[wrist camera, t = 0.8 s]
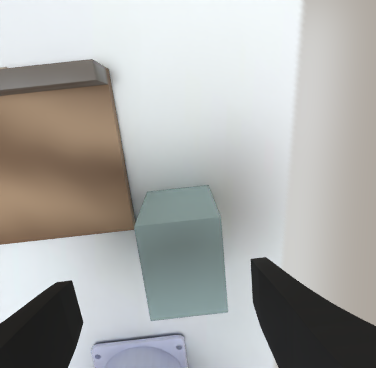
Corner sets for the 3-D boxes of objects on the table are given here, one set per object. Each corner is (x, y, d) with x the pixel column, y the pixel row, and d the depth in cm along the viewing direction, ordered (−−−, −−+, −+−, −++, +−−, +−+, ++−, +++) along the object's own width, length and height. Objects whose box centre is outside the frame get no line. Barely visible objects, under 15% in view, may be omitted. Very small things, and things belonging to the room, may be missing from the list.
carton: (158, 262, 21) (150, 321, 15) (147, 191, 19) (134, 226, 13) (215, 256, 21) (230, 311, 15) (209, 184, 19) (223, 216, 13)
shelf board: (135, 225, 20) (127, 247, 17) (-36, 244, 20) (-77, 269, 16) (107, 65, 17) (91, 55, 13) (-95, 87, 17) (-160, 82, 13)
